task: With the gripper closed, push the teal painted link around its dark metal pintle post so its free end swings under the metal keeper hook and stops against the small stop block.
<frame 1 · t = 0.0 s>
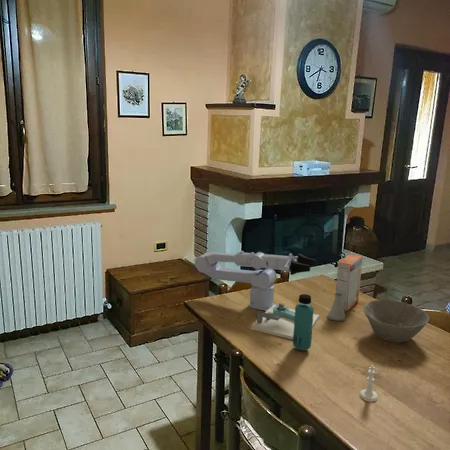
hand: (312, 265, 172), 22 cm above the table, tool horizontal, fingers open, 7 cm apart
flask: (336, 317, 178), on the table
link: (292, 315, 173), point 2 cm above the table, hinge at 72.0°
cracker box: (346, 305, 189), on the table
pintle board: (286, 323, 171), on the table
ceramic bowl: (392, 337, 163), on the table
chess piece: (368, 396, 128), on the table
beverage bottle: (301, 349, 153), on the table
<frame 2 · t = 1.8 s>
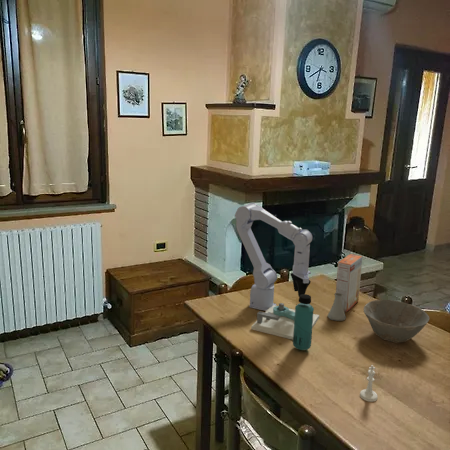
hand: (299, 293, 176), 9 cm above the table, tool pointing down, fingers open, 5 cm apart
nothing on the table moved.
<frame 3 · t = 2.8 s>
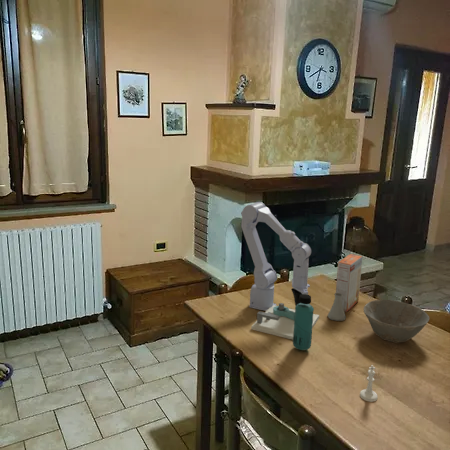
hand: (298, 306, 177), 4 cm above the table, tool pointing down, fingers closed
nothing on the table moved.
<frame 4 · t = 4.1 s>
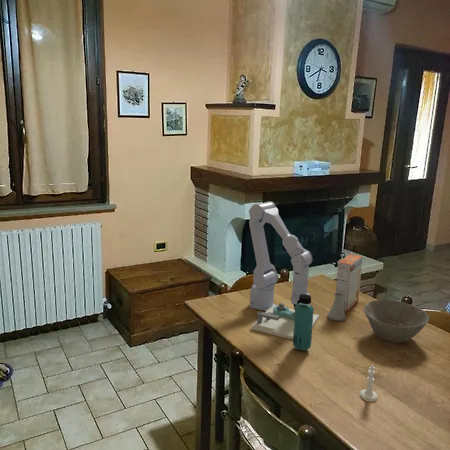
hand: (298, 314, 174), 2 cm above the table, tool pointing down, fingers closed, pressing on link
link: (292, 315, 173), point 2 cm above the table, hinge at 72.0°, touching gripper
everything else where it was.
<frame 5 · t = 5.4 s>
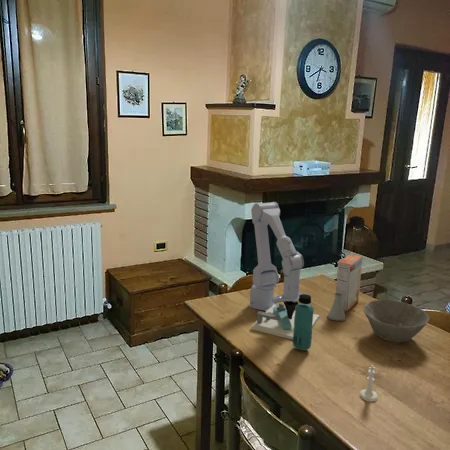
hand: (289, 318, 170), 2 cm above the table, tool pointing down, fingers closed, pressing on link
link: (283, 317, 171), point 2 cm above the table, hinge at 29.1°, touching gripper
everything else where it was.
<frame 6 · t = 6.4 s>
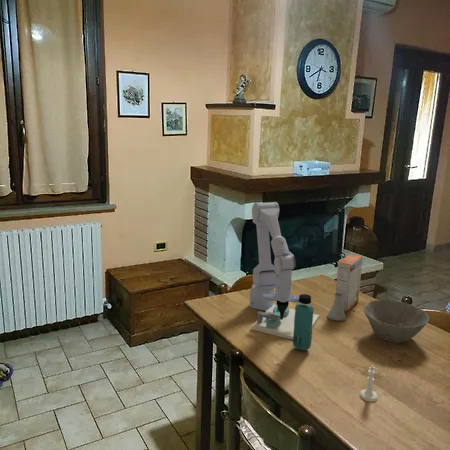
hand: (281, 318, 170), 2 cm above the table, tool pointing down, fingers closed, pressing on link
link: (277, 316, 172), point 2 cm above the table, hinge at 2.8°, touching gripper
everything else where it was.
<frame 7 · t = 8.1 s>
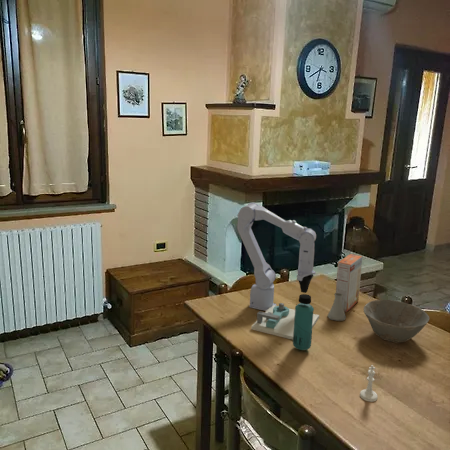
hand: (304, 291, 178), 9 cm above the table, tool pointing down, fingers closed
link: (276, 316, 172), point 2 cm above the table, hinge at 2.5°
everything else where it was.
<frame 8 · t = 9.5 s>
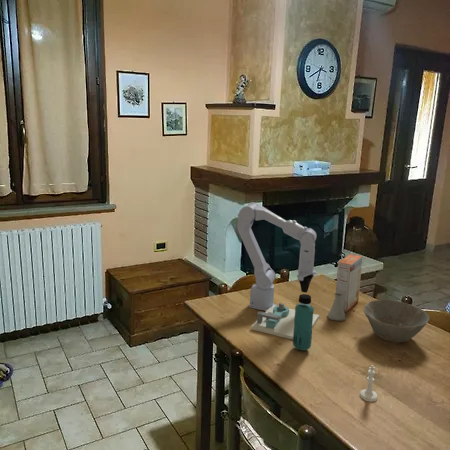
hand: (304, 291, 178), 9 cm above the table, tool pointing down, fingers closed
nothing on the table moved.
at the end: link at +2° (first picture: +72°); the gripper is holding nothing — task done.
